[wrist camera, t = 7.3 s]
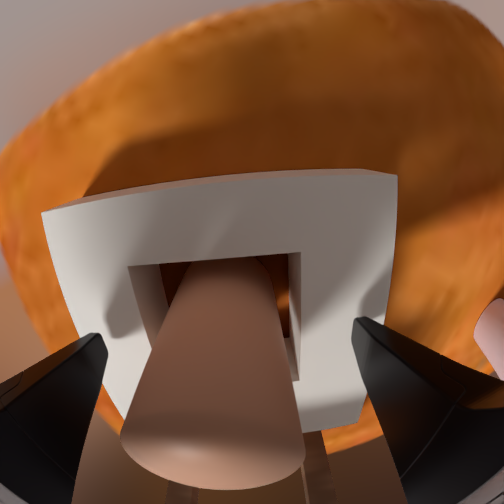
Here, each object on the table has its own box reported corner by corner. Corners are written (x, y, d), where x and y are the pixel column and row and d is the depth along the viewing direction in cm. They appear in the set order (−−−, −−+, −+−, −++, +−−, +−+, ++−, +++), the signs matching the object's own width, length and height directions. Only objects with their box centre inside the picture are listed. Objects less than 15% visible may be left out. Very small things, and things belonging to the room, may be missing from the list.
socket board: (361, 168, 10) (397, 175, 8) (343, 384, 14) (357, 422, 12) (81, 197, 10) (41, 212, 8) (145, 396, 14) (132, 432, 12)
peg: (270, 244, 11) (312, 402, 4) (274, 325, 13) (300, 484, 5) (174, 252, 11) (89, 400, 4) (190, 331, 13) (155, 484, 5)
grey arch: (325, 398, 15) (360, 524, 7) (319, 431, 16) (343, 536, 8) (164, 406, 15) (137, 528, 7) (180, 438, 16) (164, 542, 8)
